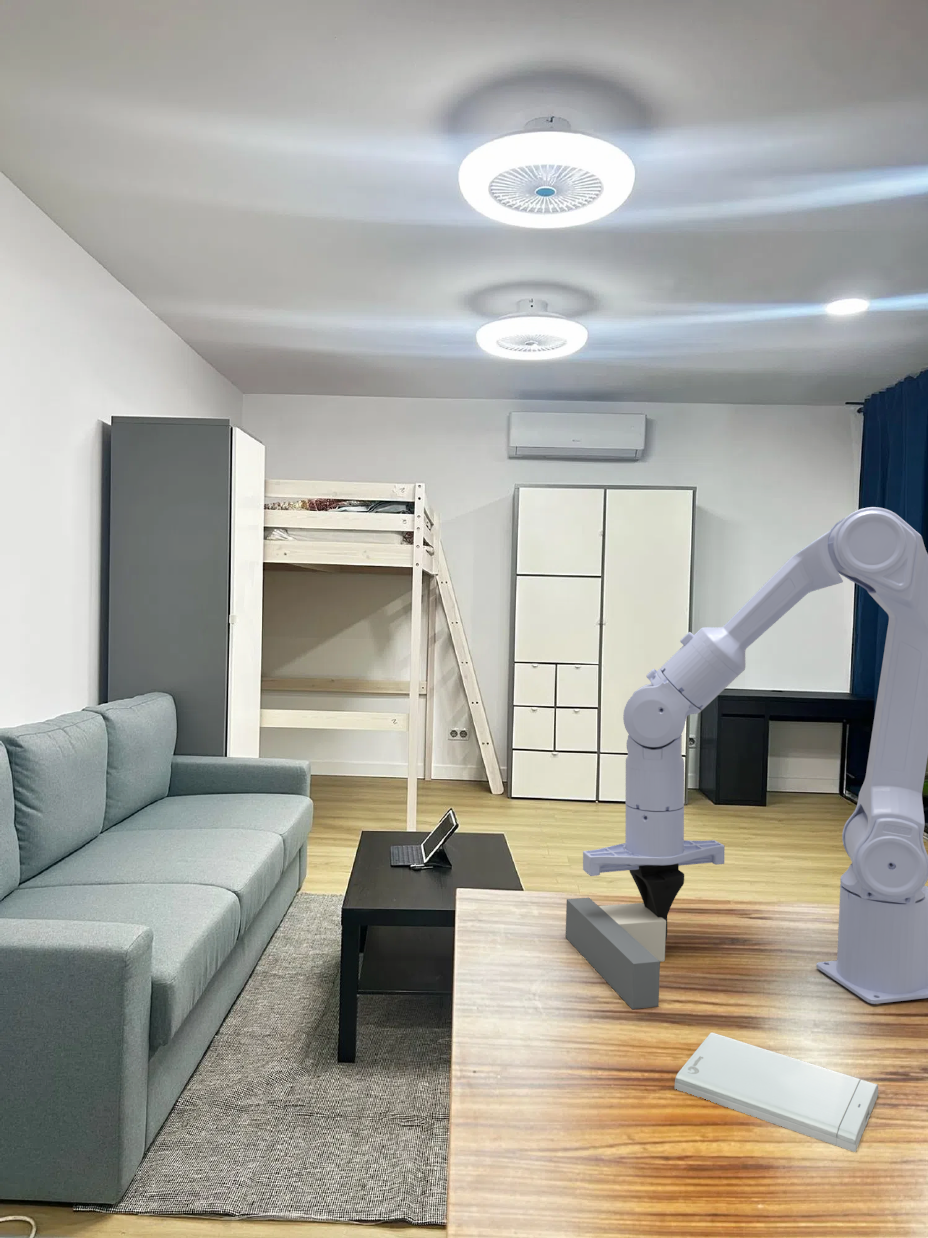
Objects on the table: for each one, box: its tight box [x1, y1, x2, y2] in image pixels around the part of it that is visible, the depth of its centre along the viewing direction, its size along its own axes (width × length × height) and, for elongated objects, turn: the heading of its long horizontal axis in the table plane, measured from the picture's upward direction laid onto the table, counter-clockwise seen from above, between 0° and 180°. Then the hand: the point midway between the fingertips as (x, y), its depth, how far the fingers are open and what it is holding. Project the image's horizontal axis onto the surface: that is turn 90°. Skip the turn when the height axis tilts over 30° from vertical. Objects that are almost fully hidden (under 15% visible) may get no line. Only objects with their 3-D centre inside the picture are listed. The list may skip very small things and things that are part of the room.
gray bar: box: [565, 897, 661, 1010], centre depth 86 cm, size 2×16×4 cm, turn 15°
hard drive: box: [673, 1032, 879, 1153], centre depth 66 cm, size 2×8×12 cm
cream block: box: [598, 902, 667, 962], centre depth 90 cm, size 5×5×4 cm
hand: (654, 938), depth 91 cm, fingers closed, pressing on cream block
